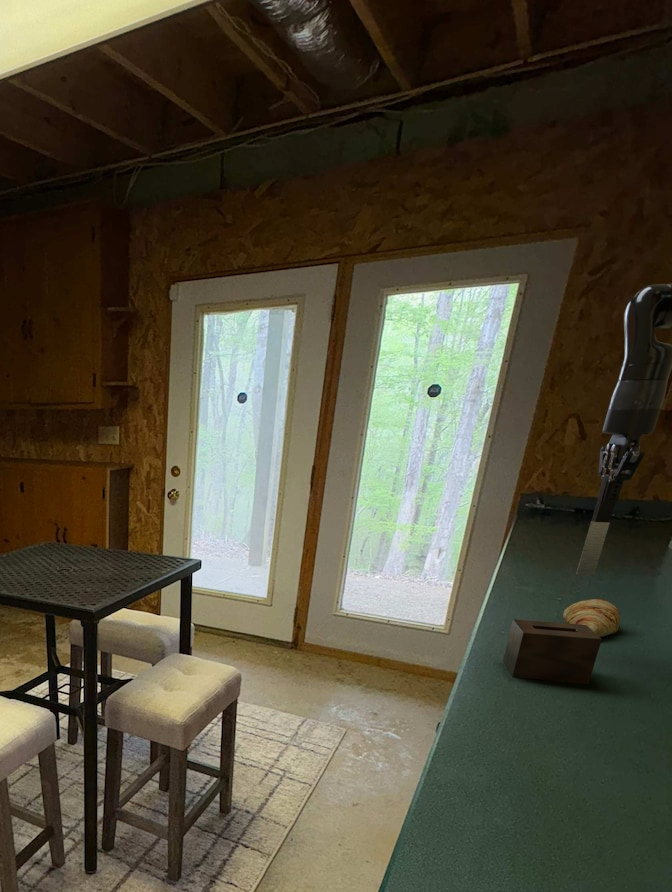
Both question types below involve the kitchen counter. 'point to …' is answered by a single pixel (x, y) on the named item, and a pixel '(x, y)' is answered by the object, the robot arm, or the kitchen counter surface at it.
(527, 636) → the knife block
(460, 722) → the kitchen counter surface
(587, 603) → the croissant
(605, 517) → the knife
